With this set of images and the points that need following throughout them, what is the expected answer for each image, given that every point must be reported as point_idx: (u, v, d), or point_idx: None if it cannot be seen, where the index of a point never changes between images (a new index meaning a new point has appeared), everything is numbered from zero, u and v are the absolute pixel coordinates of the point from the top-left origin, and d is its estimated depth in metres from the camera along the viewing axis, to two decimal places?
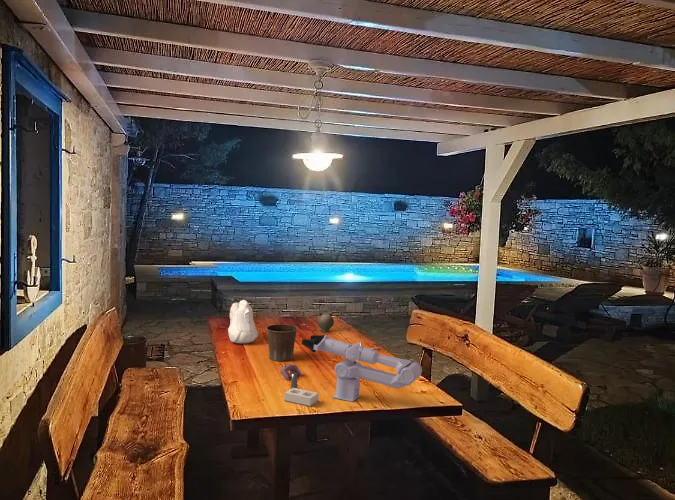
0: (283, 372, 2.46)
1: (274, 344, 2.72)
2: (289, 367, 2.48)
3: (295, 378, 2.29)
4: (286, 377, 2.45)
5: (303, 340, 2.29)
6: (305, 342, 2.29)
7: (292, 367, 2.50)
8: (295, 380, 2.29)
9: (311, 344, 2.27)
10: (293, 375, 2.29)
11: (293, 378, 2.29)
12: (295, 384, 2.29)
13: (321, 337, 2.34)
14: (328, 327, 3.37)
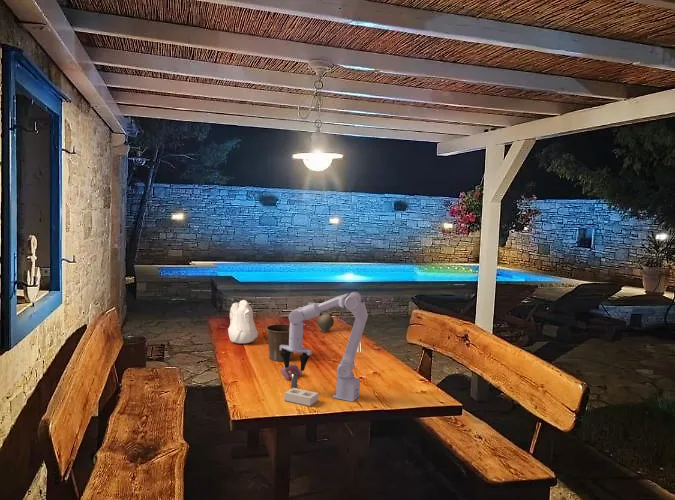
0: (284, 372, 2.46)
1: (274, 344, 2.72)
2: (290, 367, 2.48)
3: (295, 378, 2.29)
4: (287, 377, 2.44)
5: (302, 369, 2.27)
6: (303, 366, 2.28)
7: (293, 367, 2.50)
8: (295, 380, 2.29)
9: None
10: (293, 375, 2.29)
11: (293, 378, 2.29)
12: (295, 384, 2.29)
13: (286, 356, 2.30)
14: (328, 327, 3.37)
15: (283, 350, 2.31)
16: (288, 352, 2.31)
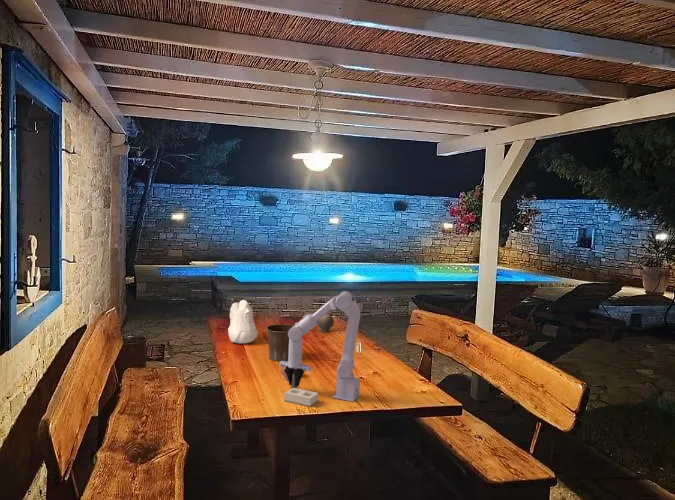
0: (284, 372, 2.45)
1: (274, 344, 2.72)
2: None
3: None
4: (287, 377, 2.44)
5: (297, 385, 2.29)
6: (298, 381, 2.29)
7: None
8: None
9: None
10: (293, 375, 2.29)
11: (293, 378, 2.29)
12: None
13: (290, 373, 2.29)
14: (328, 327, 3.37)
15: (287, 367, 2.30)
16: (292, 369, 2.31)
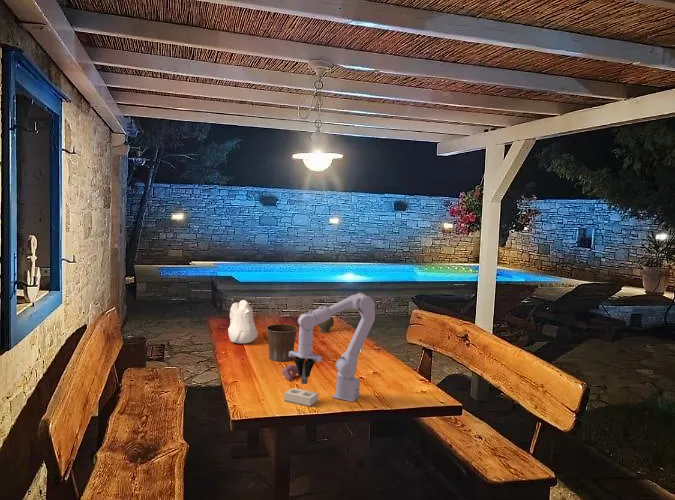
0: (285, 373, 2.45)
1: (274, 344, 2.72)
2: (291, 368, 2.48)
3: None
4: (288, 378, 2.44)
5: (307, 375, 2.20)
6: (308, 372, 2.20)
7: (294, 368, 2.49)
8: None
9: None
10: (304, 365, 2.20)
11: (304, 369, 2.20)
12: None
13: (300, 363, 2.20)
14: (328, 327, 3.37)
15: (297, 357, 2.21)
16: (302, 359, 2.22)
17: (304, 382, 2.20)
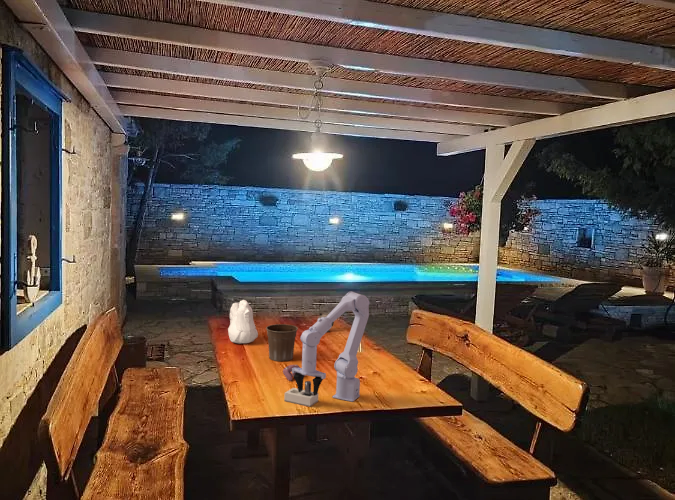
0: (286, 373, 2.45)
1: (274, 344, 2.72)
2: None
3: (309, 387, 2.17)
4: (289, 378, 2.44)
5: (315, 393, 2.16)
6: (316, 390, 2.17)
7: None
8: (309, 389, 2.17)
9: None
10: (307, 384, 2.17)
11: (307, 387, 2.17)
12: (309, 393, 2.18)
13: (299, 379, 2.18)
14: None
15: (296, 373, 2.19)
16: (302, 375, 2.20)
17: None
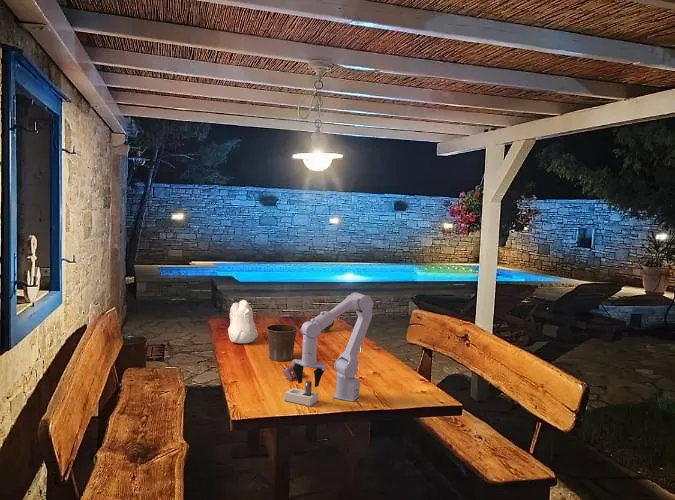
0: (286, 373, 2.45)
1: (274, 344, 2.72)
2: (292, 368, 2.47)
3: (310, 387, 2.17)
4: (289, 378, 2.44)
5: (316, 385, 2.16)
6: (317, 382, 2.16)
7: None
8: (310, 389, 2.17)
9: None
10: (308, 384, 2.17)
11: (308, 387, 2.17)
12: (309, 393, 2.18)
13: (299, 371, 2.18)
14: (328, 327, 3.37)
15: (296, 365, 2.19)
16: (301, 367, 2.20)
17: None
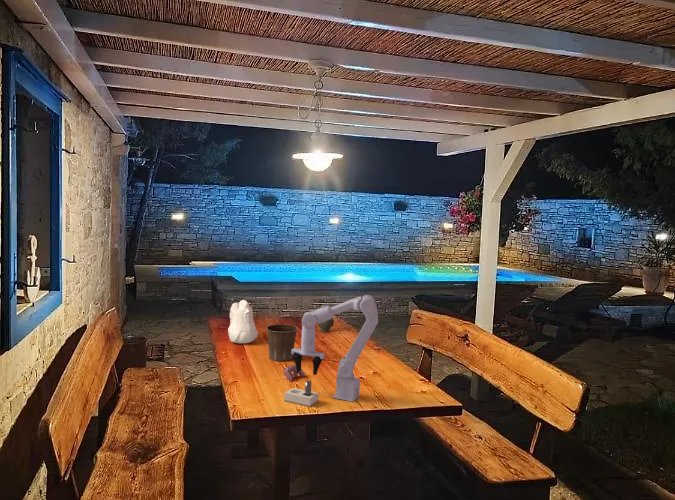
0: (286, 373, 2.45)
1: (274, 344, 2.72)
2: (292, 368, 2.47)
3: (309, 386, 2.18)
4: (289, 378, 2.43)
5: (315, 373, 2.25)
6: (316, 370, 2.25)
7: (295, 368, 2.49)
8: (309, 389, 2.18)
9: None
10: (307, 383, 2.17)
11: (307, 387, 2.17)
12: (309, 393, 2.18)
13: (298, 360, 2.27)
14: (328, 327, 3.37)
15: (295, 354, 2.28)
16: (300, 356, 2.29)
17: None
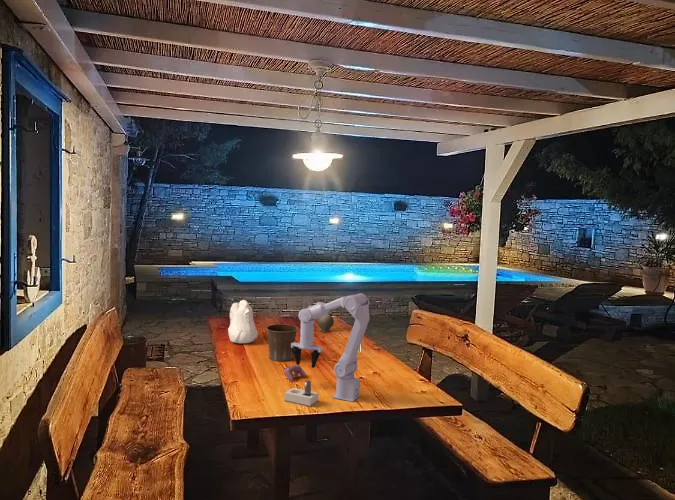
0: (287, 373, 2.44)
1: (274, 344, 2.72)
2: (293, 368, 2.47)
3: (309, 387, 2.17)
4: (290, 378, 2.43)
5: (313, 366, 2.34)
6: (314, 363, 2.34)
7: (296, 368, 2.48)
8: (309, 389, 2.17)
9: None
10: (307, 384, 2.17)
11: (307, 387, 2.17)
12: (309, 393, 2.18)
13: (297, 353, 2.36)
14: (328, 327, 3.37)
15: (294, 347, 2.37)
16: (299, 349, 2.38)
17: None
